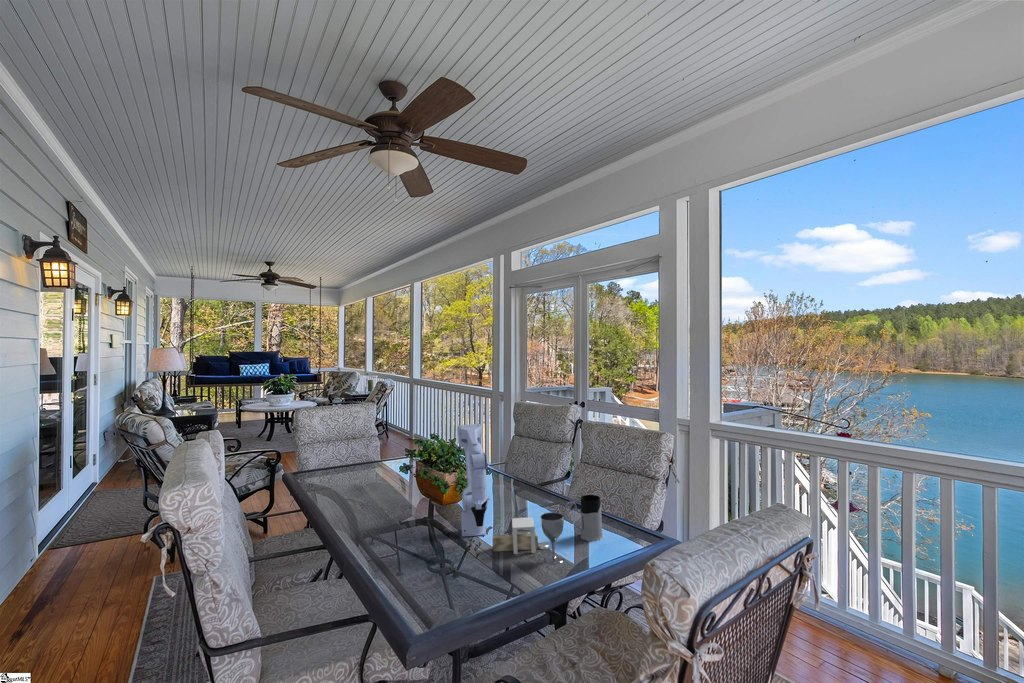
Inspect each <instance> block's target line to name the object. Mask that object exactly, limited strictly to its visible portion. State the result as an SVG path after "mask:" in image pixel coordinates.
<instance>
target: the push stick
mask: <svg viewBox="0 0 1024 683" xmlns="http://www.w3.org/2000/svg"><path fill="white" fill-rule="evenodd" d="M538 536H539V535H538V533H537V532H535V547H536V550H538V544H539V541H538V540H539V539H538V538H539V537H538ZM492 547H493V552H504V551H505V552H507V551H509V552H510V551H514V550H513V534H500V535H492ZM517 547H518V551H523V550H531V533H517Z"/></svg>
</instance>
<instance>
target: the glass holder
mask: <svg viewBox="0 0 1024 683" xmlns="http://www.w3.org/2000/svg"><path fill="white" fill-rule="evenodd" d="M569 504H573V505H575V511H576V513H577V514H580V521H581V525H580V526H581V527H580V526H578V525H577V524H576V523H574V521H572V520H571V519H570V516H569V515H568V510H567V509H568V508H567V507H568V505H569ZM565 513H566V517H567V519H568V520H569V522H570V523H571V524H573V526H575V527H576V528H577V529H578V530H580V533H581V534H580V538H581V539H582V540H584V541H587V542H598V541H597V540H599V541H601V540H600V539H601V538H603V536H604V534H603V523H602V521H603V520H602V519H603V518H602V504H601V497H600V496H599V495H595V494H584V495H582V496H580V511H578V507H577V504H576V502H574V501H569V502H567V503H566V504H565ZM603 539H604V538H603Z"/></svg>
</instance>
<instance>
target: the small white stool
mask: <svg viewBox="0 0 1024 683" xmlns="http://www.w3.org/2000/svg"><path fill="white" fill-rule="evenodd" d="M511 519H512V520H511V521H512V523H511V524H512V525H511V526H512V527H511V528H512V535H513V550H512V551H513V555H518V553H519V552H518V551H519V550H518V547H517V534H530V533H531V549H530V551H531V554H536V553H537V552H536V550H537V549H536V547H535V533H536V530H535V528H536V527H535V521H534V517H513V518H511Z"/></svg>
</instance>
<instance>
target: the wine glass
mask: <svg viewBox="0 0 1024 683" xmlns="http://www.w3.org/2000/svg"><path fill="white" fill-rule="evenodd" d="M564 523H565V522H564V514H562V513H560V512H555V511H554V512H552V511H551V512H545V513H543V514H541V515H540V524H541V525H540V526H541V529H542V532H543V534H544V535H545V537H546V538H547V539H548V540H549V542H550V544H551V549H552V550H551V551H552V554H549V555H547V556H545V557H544V558H543V562H545V563H546V564H549V565H558V564H562V563H564V561H565V558H564V557H563V556H562V555H558V554H556V553H555V552H556V551H555V549H556V542H557V540H558V539H559V538H560V536H561V535H562V534H563V531H564Z"/></svg>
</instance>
